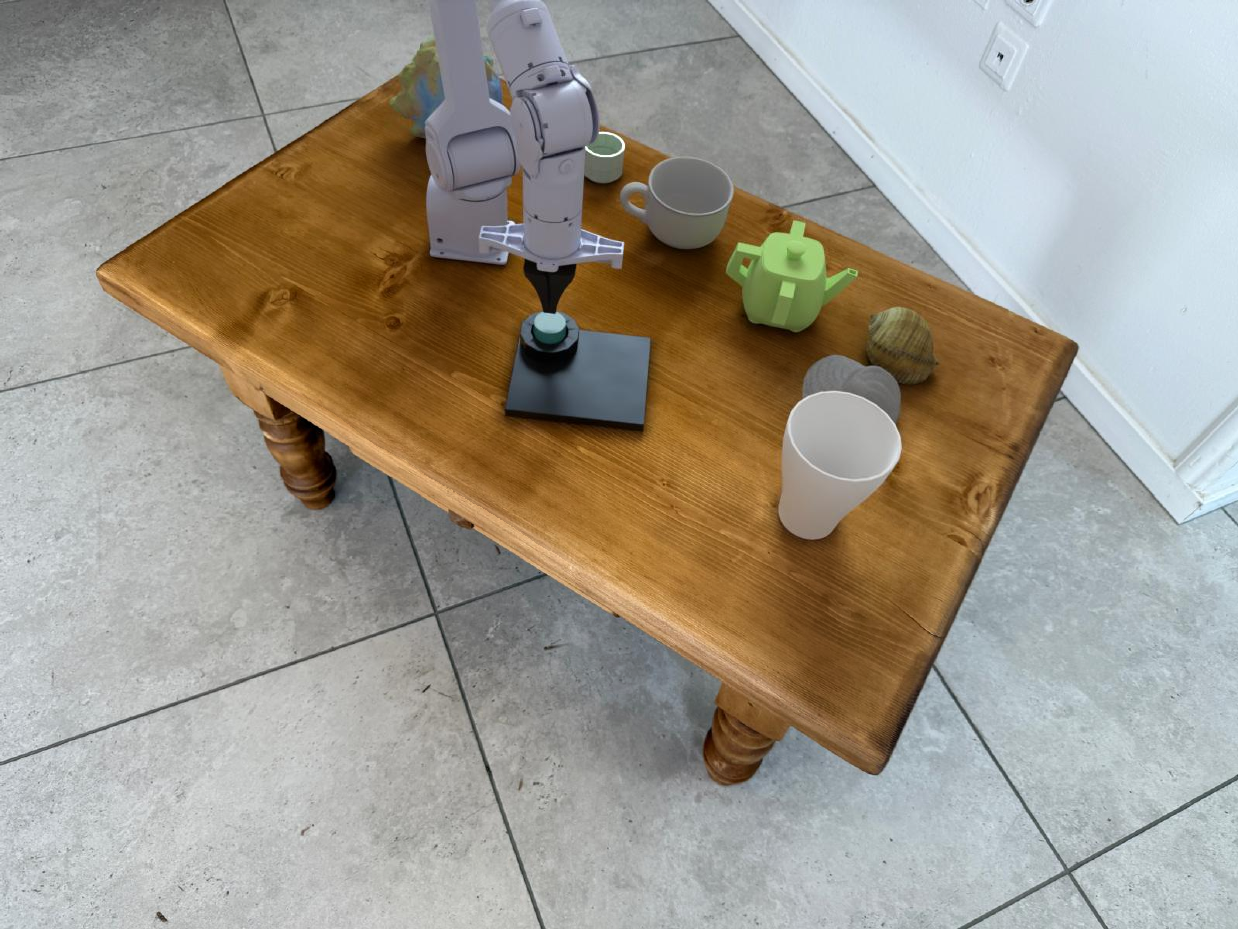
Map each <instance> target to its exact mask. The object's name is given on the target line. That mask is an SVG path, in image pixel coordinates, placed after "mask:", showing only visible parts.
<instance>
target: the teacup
mask: <svg viewBox="0 0 1238 929" xmlns="http://www.w3.org/2000/svg"><path fill="white" fill-rule="evenodd" d="M734 193H735V188H734V184H733V182H732V179H731V178H730V176H729V175H728V174H727V172H726V171H724V170H723V169H722V167H719V166H718V165H716V164H714V163H712V162H711V161H708V160H705V159H703V158H698V157H694V156H674V157H670V158H667V159H664V160H662V161H660V162H659V163H657V164H656V165H655V166H654V167H652V169H651V171H650V173H649V175H648V182H647V185H646V184H645V183H642V182H639V181H632V182H629V183H627V184H626V185H624V186H623V188H622V189H621V191H620V195H619V200H620V205H621V206H622V208H623V210H624V211H625V212H627V213H628V214H630V215H631V216H633V217H634V218H636V219H639V221H640V223H642V224H644V225H647V227H648V229H649V230H650V232H651V234H653V235H654V237H655V238H656V239H658V240H659V241H660V242H662V243H663V244H665V245H667V246H669V247H671V248H675V249H678V250H692V249H693V250H694V249H699V248H700V249H701V248H702V247H706V246H708V245H709V244H711V243H712V242H713V241H715V240H716V239H717V238H718V237H719V236H720V234H721V232H722V231H723V228H724V227H725V224H726V220H727V217H728V213H729V210H730V206H731V203H732V201H733V198H734ZM633 194H641V196H642V197H643V201H644V203H645V207H644V209H643V208H640V207H637V206H635V205H634V204H632V203H631V202H630V201H629V197H630V196H631V195H633Z"/></svg>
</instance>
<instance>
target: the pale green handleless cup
mask: <svg viewBox="0 0 1238 929" xmlns="http://www.w3.org/2000/svg"><path fill="white" fill-rule="evenodd" d="M625 150H626V143H625V142H624V140H623V138H621V137H620V136H619V135H617V134H615V133H612V132H608V131H599V135H598V138H597V140H596V142H595V143H593V144H588V145H587V146H585V167H584V177H586V178H587V179H589V180H590V181H592V182H594V183H596V184H609V183H613V182H614V181H617V180H618V179H620V178H621V177H622V176H623V170H624V161H625Z"/></svg>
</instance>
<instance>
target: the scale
mask: <svg viewBox="0 0 1238 929" xmlns="http://www.w3.org/2000/svg"><path fill="white" fill-rule="evenodd" d="M541 312H543V310H540V311H536V312H533V313H531V314H530V315H529V316H527V318H525V319H524V320H523V321H522V322H521V326H520V331H519V336H518V341H517V346H516V351H515V355H514V361H513V365H512V366H513V367H512V372H511V376H510V381H509V386H508V390H507V396H506V401H505V406H504V416H505V417H509V418H517V419H519V418H520V419H529V420H537V421H546V422H553V423H554V422H556V423H564V424H574V425H580V426H581V425H582V426H589V427H600V428H609V429H617V430H618V429H619V430H625V431H627V430H628V431H636V432H644V428H645V420H646V407H647V393H648V384H649V383H648V382H649V381H648V380H649V369H650V358H651V357H650V356H651V343H652V338H651V337H647V336H638V335H628V334H621V333H620V334H619V333H611V332H601V331H594V330H585V329H580V328H579V326H578V323H577V322H576V321H575V319H574V318H573V317H571V316H570V315H567V314H566V313H564V312H562V311H558V310H556V312H558V313H560V314H561V315H563V317H564V318H565V320H566V335H565V338H564V339H563V340H562V341H561V342H559V343H557V344H552V345H550V344H544V343H541V342H539V341H538V340H537V339H536V338H535V336H534V319H535V317H536V316H537V315H538V314H539V313H541Z"/></svg>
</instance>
